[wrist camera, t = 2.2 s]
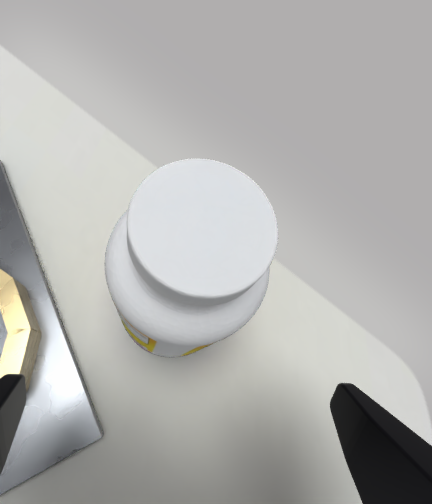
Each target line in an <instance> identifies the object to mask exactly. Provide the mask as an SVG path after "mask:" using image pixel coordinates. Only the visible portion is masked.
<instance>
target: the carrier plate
mask: <svg viewBox="0 0 432 504" xmlns="http://www.w3.org/2000/svg"><path fill="white" fill-rule="evenodd" d="M6 374H23V375H24V376H25V383H26V394H27V400H26V405H25V408H24V411H23V414H22V417H21V420H20V422H19V425H18V428H17V431H16V434H15V437H14V440H13V443H12V446H11V448H10V451H9V454H8V457H7V460H6V463H5V465H4V468H3V470H2V473H1V475H0V494H2V493H4V492H6V491H8V490H9V489H11V488H13V487H15V486H16V485H18V484H20V483H22V482H23V481H25V480H27V479H29V478H31V477H32V476H34V475H36V474H38V473H39V472H41V471H43V470H45V469H46V468H48V467H50V466H52V465H54V464H55V463H57V462H59V461H61V460H62V459H64V458H66V457H68V456H69V455H71V454H73V453H75V452H77V451H78V450H80V449H82V448H84V447H85V446H87V445H89V444H91V443H92V442H94V441H96V440H98V439H100V438H101V437H102V436H103V431H102V428H101V426H100V423H99V420H98V418H97V415H96V412H95V410H94V407H93V404H92V402H91V399H90V396H89V394H88V391H87V388H86V386H85V383H84V380H83V378H82V375H81V372H80V369H79V367H78V364H77V361H76V359H75V356H74V353H73V351H72V348H71V345H70V343H69V340H68V337H67V335H66V332H65V329H64V327H63V324H62V321H61V319H60V316H59V313H58V311H57V308H56V305H55V303H54V300H53V297H52V295H51V292H50V289H49V287H48V284H47V281H46V279H45V276H44V273H43V271H42V268H41V265H40V263H39V260H38V257H37V255H36V252H35V249H34V247H33V244H32V241H31V239H30V236H29V233H28V231H27V228H26V225H25V223H24V220H23V217H22V215H21V212H20V209H19V207H18V204H17V201H16V199H15V196H14V193H13V191H12V188H11V185H10V183H9V180H8V177H7V175H6V172H5V169H4V166H3V164H2V162H1V160H0V378H1V377H2V376H4V375H6Z"/></svg>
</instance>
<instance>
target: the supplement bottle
mask: <svg viewBox="0 0 432 504" xmlns="http://www.w3.org/2000/svg"><path fill="white" fill-rule="evenodd" d="M277 244H278V226H277V221H276V217H275V213H274V210H273V208H272V206H271V203H270V201H269V200H268V198H267V196H266V195H265V193H264V192H263V191H262V190H261V189H260V187H259V186H258V185H257V184H256V183H255V182H254V181H253V180H252V179H251V178H249V177H248V176H247V175H245V174H244V173H243V172H241V171H239V170H237V169H236V168H234V167H232V166H230V165H227V164H224V163H221V162H218V161H214V160H209V159H185V160H179V161H175V162H172V163H169V164H166V165H164V166H162V167H160V168H158V169H157V170H155V171H154V172H152V173H151V174H150V175H149V176H147V177H146V178H145V179H144V180H143V182H142V183H141V184H140V185H139V187H138V188H137V190H136V191H135V193H134V195H133V197H132V199H131V201H130V205H129V208H128V210H127V211H126V212H125V213H124V214H123V215H122V216H121V218H120V219H119V220H118V222H117V223H116V225H115V227H114V228H113V231H112V233H111V235H110V238H109V241H108V244H107V248H106V253H105V275H106V281H107V285H108V288H109V291H110V294H111V297H112V299H113V301H114V304H115V306H116V308H117V311H118V313H119V316H120V318H121V320H122V323H123V325H124V327H125V329H126V331H127V332H128V334H129V335H130V337H131V338H132V339H133V340H134V341H135V342H136V343H137V344H138V345H139V346H140V347H142V348H143V349H145V350H146V351H148V352H150V353H153V354H155V355H159V356H163V357H180V356H185V355H188V354H191V353H194V352H196V351H198V350H200V349H202V348H204V347H207V346H209V345H211V344H213V343H216V342H218V341H220V340H222V339H224V338H226V337H228V336H230V335H232V334H233V333H235V332H236V331H238V330H239V329H240V328H242V327H243V326H244V325H245V324H246V323H247V322H248V321H249V320H250V319H251V318H252V316H253V315H254V314H255V313H256V311H257V310H258V308H259V307H260V305H261V303H262V301H263V298H264V296H265V294H266V290H267V286H268V281H269V266H270V265H271V263H272V260H273V258H274V256H275V253H276V249H277Z"/></svg>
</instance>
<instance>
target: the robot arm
mask: <svg viewBox="0 0 432 504" xmlns="http://www.w3.org/2000/svg"><path fill="white" fill-rule="evenodd" d="M26 400H27V394H26V383H25V376H24V375H23V374H6V375H4V376H2V377H1V378H0V475H1V473H2V470H3V468H4V465H5V463H6V460H7V457H8V454H9V451H10V448H11V446H12V443H13V440H14V437H15V434H16V431H17V428H18V425H19V422H20V420H21V417H22V414H23V411H24V408H25V405H26ZM330 409H331V413H332V417H333V420H334V423H335V427H336V430H337V433H338V437H339V440H340V443H341V447H342V450H343V453H344V456H345V459H346V462H347V465H348V467H349V470H350V473H351V475H352V478H353V480H354V483H355V485H356V488H357V490H358V493H359V495H360V498H361V500H362V503H363V504H432V446H431V445H430V444H428V443H427V442H426V441H425V440H423V439H422V438H421V437H420V436H418V435H417V434H416V433H414V432H413V431H412V430H411V429H409V428H408V427H407V426H406V425H404V424H403V423H402V422H400V421H399V420H398V419H397V418H395V417H394V416H393V415H392V414H390V413H389V412H388V411H387V410H385V409H384V408H383V407H381V406H380V405H379V404H378V403H376V402H375V401H374V400H373V399H371V398H370V397H369V396H367V395H366V394H365V393H364V392H362V391H361V390H360V389H359V388H357V387H356V386H355V385H353V384H350V383H340V384H338V385H337V387H336V390H335V392H334V394H333V397H332V399H331V401H330Z"/></svg>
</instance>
